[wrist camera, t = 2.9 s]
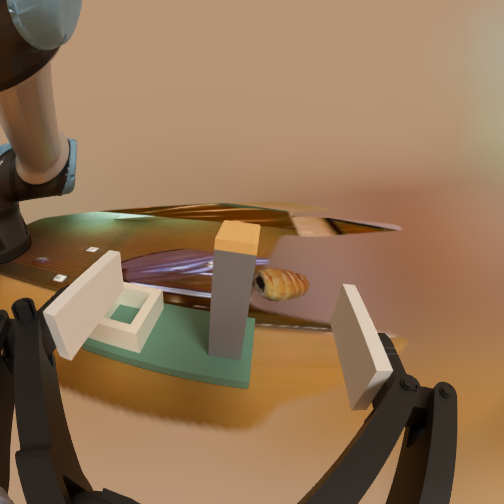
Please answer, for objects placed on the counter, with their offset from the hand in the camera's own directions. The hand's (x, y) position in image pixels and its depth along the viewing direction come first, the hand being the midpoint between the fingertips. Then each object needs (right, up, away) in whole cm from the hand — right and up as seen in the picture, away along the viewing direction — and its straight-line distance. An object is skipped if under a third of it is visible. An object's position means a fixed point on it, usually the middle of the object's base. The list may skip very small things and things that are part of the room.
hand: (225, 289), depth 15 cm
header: (-14, -7, +16) cm, 22 cm away
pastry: (+6, -5, +30) cm, 31 cm away
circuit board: (-9, -9, +16) cm, 20 cm away
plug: (-1, -9, +16) cm, 18 cm away
